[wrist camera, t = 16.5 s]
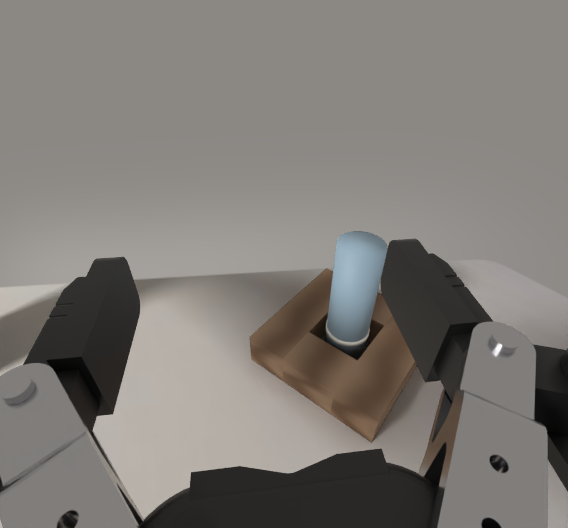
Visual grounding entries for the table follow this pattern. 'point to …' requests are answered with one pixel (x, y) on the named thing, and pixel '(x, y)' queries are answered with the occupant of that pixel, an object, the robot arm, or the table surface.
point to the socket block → (335, 359)
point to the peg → (354, 290)
